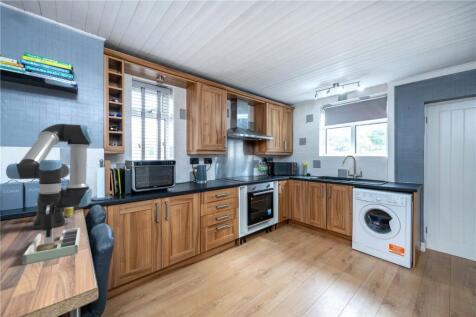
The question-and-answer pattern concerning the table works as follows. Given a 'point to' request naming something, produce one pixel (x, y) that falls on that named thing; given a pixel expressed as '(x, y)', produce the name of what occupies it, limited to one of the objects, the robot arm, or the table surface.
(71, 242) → the box
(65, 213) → the supplement bottle
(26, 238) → the table surface
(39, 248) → the brown rounded cylinder
